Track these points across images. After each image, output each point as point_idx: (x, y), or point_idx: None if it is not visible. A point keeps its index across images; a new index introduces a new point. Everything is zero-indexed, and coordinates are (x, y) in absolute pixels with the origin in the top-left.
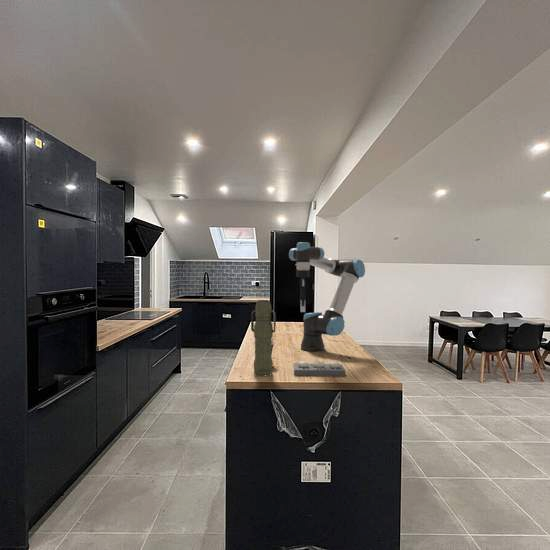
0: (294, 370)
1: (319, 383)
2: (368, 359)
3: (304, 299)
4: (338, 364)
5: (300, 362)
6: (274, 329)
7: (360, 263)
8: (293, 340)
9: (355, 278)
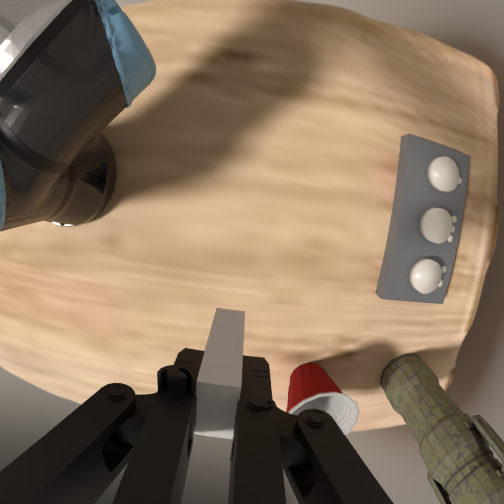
0: (442, 302)
1: (493, 244)
2: (269, 5)
3: (274, 413)
4: (455, 164)
5: (427, 286)
6: (482, 421)
7: None
8: None
9: None
